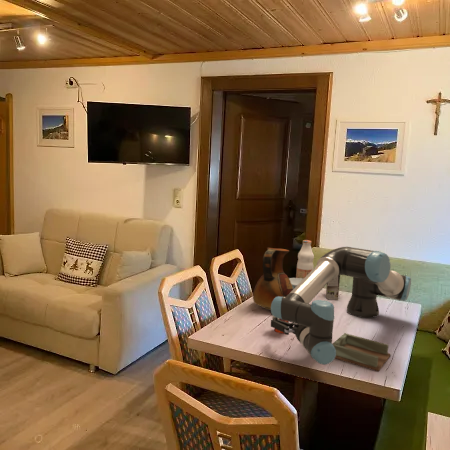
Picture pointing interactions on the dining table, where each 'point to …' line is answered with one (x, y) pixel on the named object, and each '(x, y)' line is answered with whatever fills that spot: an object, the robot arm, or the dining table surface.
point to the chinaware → (295, 281)
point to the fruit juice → (305, 260)
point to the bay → (361, 351)
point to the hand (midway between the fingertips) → (289, 315)
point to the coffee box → (333, 288)
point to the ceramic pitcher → (272, 279)
